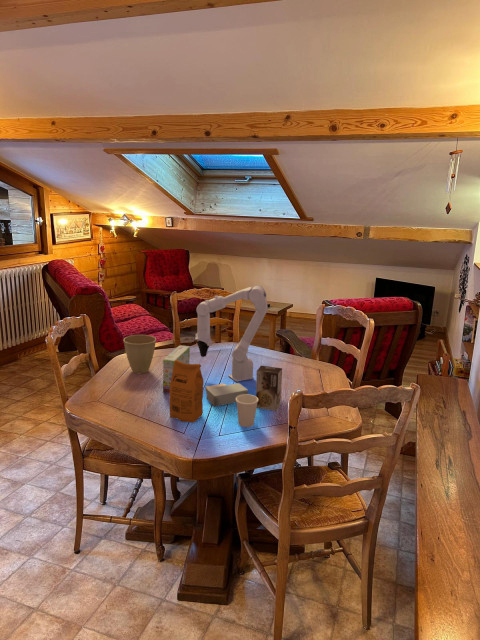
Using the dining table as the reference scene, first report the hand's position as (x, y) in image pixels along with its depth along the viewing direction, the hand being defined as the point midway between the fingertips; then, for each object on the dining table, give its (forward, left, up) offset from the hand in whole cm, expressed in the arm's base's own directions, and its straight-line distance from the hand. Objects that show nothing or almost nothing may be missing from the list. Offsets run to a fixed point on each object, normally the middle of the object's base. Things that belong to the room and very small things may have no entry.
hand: (203, 356), depth 215 cm
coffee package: (+23, +36, -10) cm, 44 cm away
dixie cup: (+5, +51, -10) cm, 52 cm away
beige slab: (+2, +29, -9) cm, 31 cm away
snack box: (+15, +5, -10) cm, 19 cm away
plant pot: (+25, -17, -10) cm, 32 cm away
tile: (+2, +23, -10) cm, 25 cm away
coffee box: (-10, +42, -10) cm, 44 cm away
